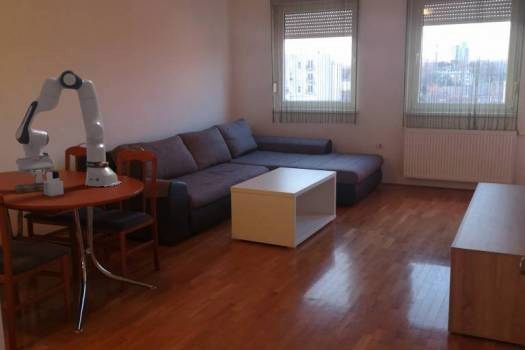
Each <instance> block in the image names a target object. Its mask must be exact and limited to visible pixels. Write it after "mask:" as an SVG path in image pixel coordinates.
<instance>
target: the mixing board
mask: <svg viewBox="0 0 525 350" xmlns="http://www.w3.org/2000/svg"><path fill="white" fill-rule="evenodd" d="M14 190H15V192H17V193H18V194H28V193H35V192H44V184H41V185H36V184H35V182H32V183H21V184H14Z"/></svg>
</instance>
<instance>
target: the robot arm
mask: <svg viewBox="0 0 525 350" xmlns="http://www.w3.org/2000/svg"><path fill="white" fill-rule="evenodd" d="M65 89H66V90H75V91H76V93H77V96H78V101H79V106H80V111H81V115H82V120H83V121H82V123H83V127H84V132H85V144H86V163H85V164H86V167H87V168H86V178H85V180H86V181H85V183H84V184H85V186H87V185H88V187H89V186H90V187H100V186H104V187H103V188H108V187H107V186H110V187H114V185H115V186H119V185H121V184H122V181H118V175H117V173H116V172H114V171H113V170H112V169H111V168H110V167H109V163H110V162H109V161H107V158H106V138H105V134H106V133H105V126H104V120H103V116H102V112H101V107H100V102H99V96H98V92H97V90H96V86H95V84H94V82H93V81H92V80H90V79H82V78H81V77H80V76H79V74H78V73H77V72H75V71H74V70H71V69H68V70H67V69H66V70H64V71H62V73H61V74H60V75H59V77H53V76H50V77H47V78H45V79H44V82H43V84H42V86H41V89H40V92H39V95H38V97H37V98H36V99H35V100H33V101H32V102H31V103H30V104H29V106H28V108H27V110H26V112H25V115H24V116H23V119H22V121H21V124H20V125H19V127H18V128H17V130H16V131H15V139H16V141H17V142H18V143H19V144H20V145H22V150H23V151H24V156H25V157H23V158H22V157H21V158H18V159H16V160H15V163H16V165H17V171H18V173H20V174H22V173H23V174H24V173H30V175H32V176H33V178H36V176H37V175H36V173H35V170H42V177H45V172H46V171H47V172H48V171H55V170H54V169H55V168H56V164H55V161H54V158H53V157H52V156H51V154H50V152H46V151H41V149H43V148H45V147H46V146H47V145H48V143H49V142H50V137H49V134H48V132H47V131H45V130H43V129H35V128H31V126H32V124H33V122H34V120H35V117H36V116H37V115H38V114H40V113H42V112H50V111H52V110H55V109H56V108H57V106H58V105H59V102H60V98H61V95H62V92H63V91H64V90H65ZM120 183H121V184H120ZM118 184H119V185H118Z"/></svg>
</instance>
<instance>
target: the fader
mask: <svg viewBox="0 0 525 350" xmlns="http://www.w3.org/2000/svg"><path fill="white" fill-rule="evenodd" d="M34 173H36V175H37V176H36V177H35V181H34V183H35V184H36V185H41V184H43V181H44V180H43V176H42V173H43V172H42V170H35V172H34Z"/></svg>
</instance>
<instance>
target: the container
mask: <svg viewBox="0 0 525 350" xmlns="http://www.w3.org/2000/svg"><path fill="white" fill-rule="evenodd" d="M43 184H44V191H43V195H45V196H48V197H49V196H50V197H56V196H60V195H64V181H63V180H60V172H59V171H57V170H49V171H47V172H46V180H43Z"/></svg>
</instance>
